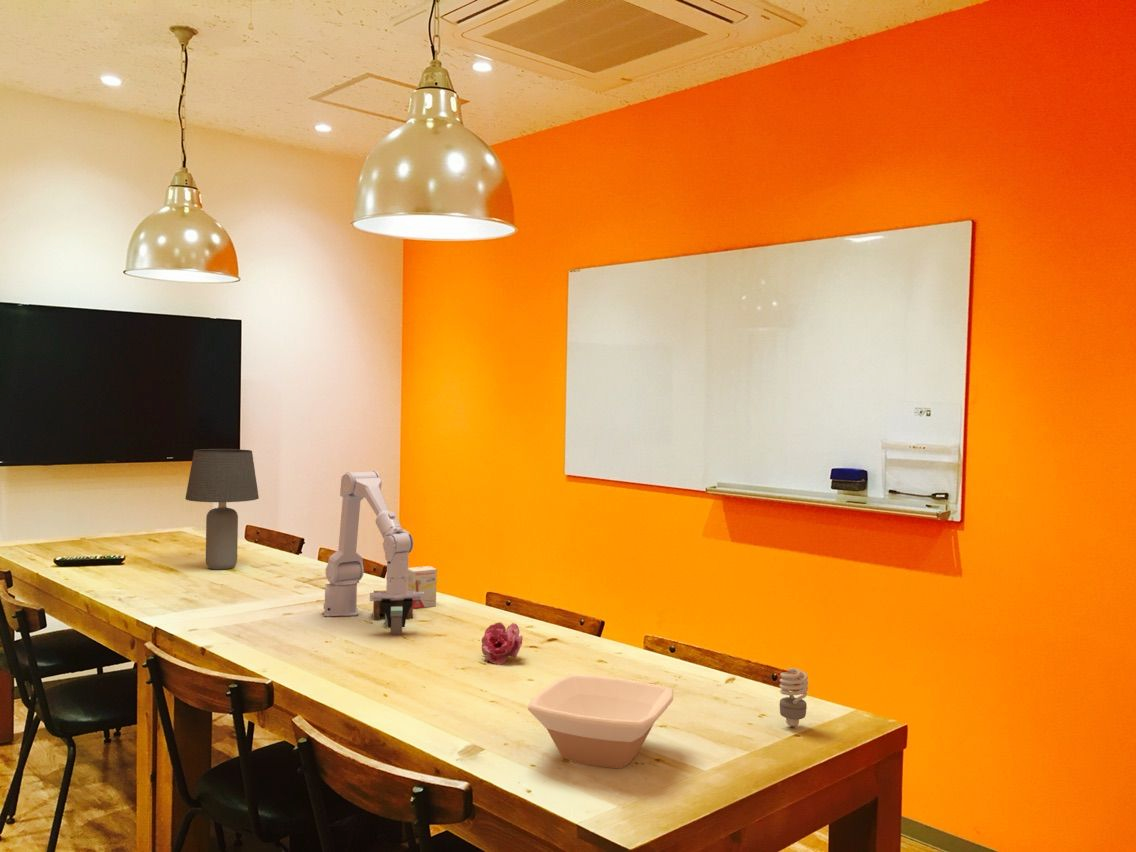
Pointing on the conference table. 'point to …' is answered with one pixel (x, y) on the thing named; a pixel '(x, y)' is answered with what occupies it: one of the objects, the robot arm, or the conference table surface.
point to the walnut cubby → (394, 603)
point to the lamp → (222, 498)
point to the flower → (501, 642)
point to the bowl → (599, 717)
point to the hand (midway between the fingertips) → (396, 626)
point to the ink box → (423, 585)
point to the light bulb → (790, 705)
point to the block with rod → (395, 620)
